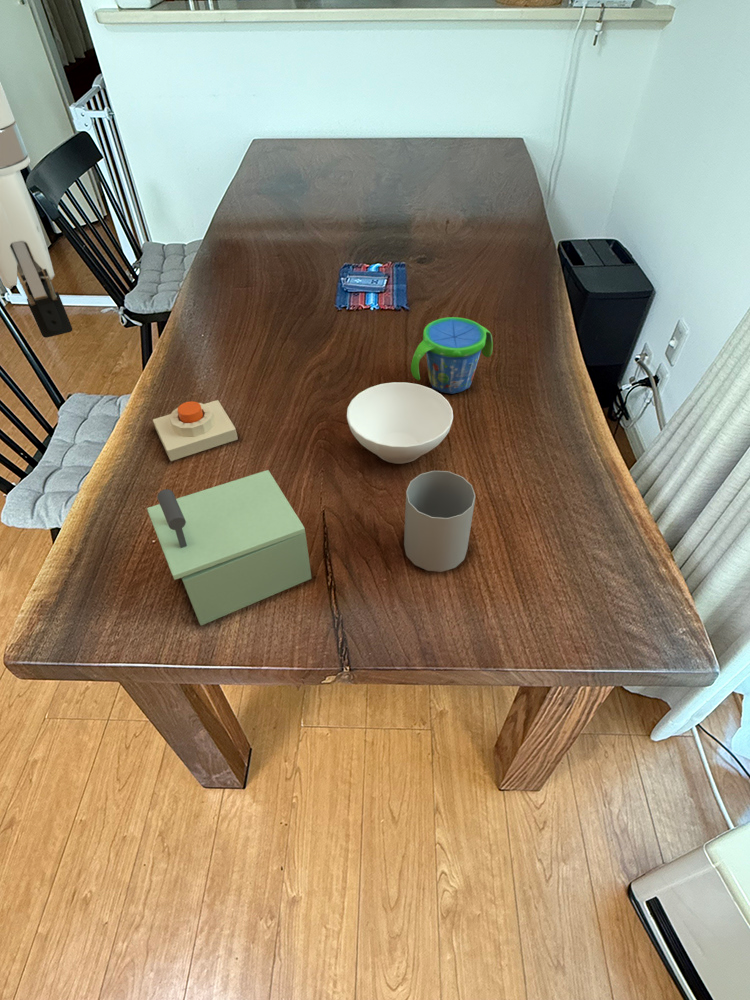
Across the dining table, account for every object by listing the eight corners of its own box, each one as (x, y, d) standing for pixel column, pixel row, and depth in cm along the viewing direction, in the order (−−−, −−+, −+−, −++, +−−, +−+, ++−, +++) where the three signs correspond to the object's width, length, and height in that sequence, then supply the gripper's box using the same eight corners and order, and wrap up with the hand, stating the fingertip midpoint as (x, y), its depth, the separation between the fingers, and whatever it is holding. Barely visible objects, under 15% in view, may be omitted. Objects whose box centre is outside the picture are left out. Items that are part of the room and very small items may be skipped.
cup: (466, 526, 82) (475, 473, 75) (467, 573, 77) (476, 520, 70) (405, 522, 83) (408, 468, 76) (402, 568, 77) (403, 515, 70)
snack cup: (423, 410, 101) (426, 357, 94) (398, 377, 108) (399, 326, 101) (503, 389, 105) (512, 337, 98) (474, 359, 112) (480, 309, 105)
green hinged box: (200, 626, 71) (183, 581, 65) (174, 560, 79) (156, 514, 72) (311, 578, 76) (305, 532, 70) (277, 520, 83) (269, 474, 77)
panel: (170, 461, 92) (163, 441, 90) (155, 429, 98) (149, 410, 95) (238, 439, 96) (233, 419, 93) (220, 410, 102) (215, 390, 99)
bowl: (330, 465, 91) (327, 429, 86) (373, 408, 102) (373, 373, 97) (428, 495, 87) (431, 458, 82) (463, 431, 97) (467, 396, 92)
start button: (183, 426, 93) (180, 417, 92) (177, 414, 95) (174, 405, 94) (206, 419, 94) (203, 410, 93) (199, 407, 96) (196, 398, 95)
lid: (174, 580, 64) (162, 546, 60) (148, 512, 72) (136, 477, 68) (305, 532, 70) (302, 498, 66) (268, 474, 77) (264, 440, 73)
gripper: (-68, 135, 58) (14, 311, 71) (-65, 179, 48) (29, 373, 61) (15, 125, 60) (80, 297, 73) (33, 165, 51) (104, 353, 64)
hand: (57, 331), depth 67 cm, fingers closed
